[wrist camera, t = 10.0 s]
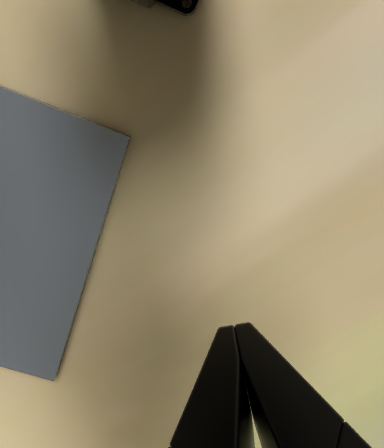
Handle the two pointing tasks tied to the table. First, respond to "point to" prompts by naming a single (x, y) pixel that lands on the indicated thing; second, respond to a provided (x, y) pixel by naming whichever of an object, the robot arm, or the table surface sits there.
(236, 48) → the table surface
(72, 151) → the card
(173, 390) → the table surface
